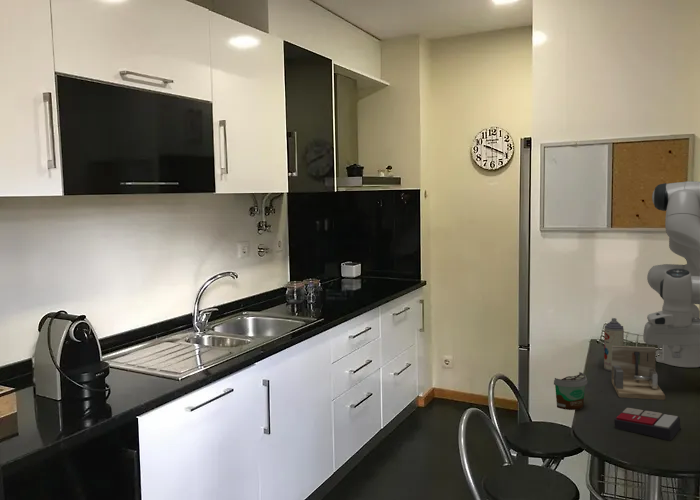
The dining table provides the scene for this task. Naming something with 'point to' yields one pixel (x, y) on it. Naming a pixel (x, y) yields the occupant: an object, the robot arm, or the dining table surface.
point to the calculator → (648, 423)
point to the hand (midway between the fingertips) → (676, 357)
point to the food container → (570, 392)
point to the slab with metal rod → (649, 378)
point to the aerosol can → (612, 341)
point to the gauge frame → (633, 372)
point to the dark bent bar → (636, 363)
